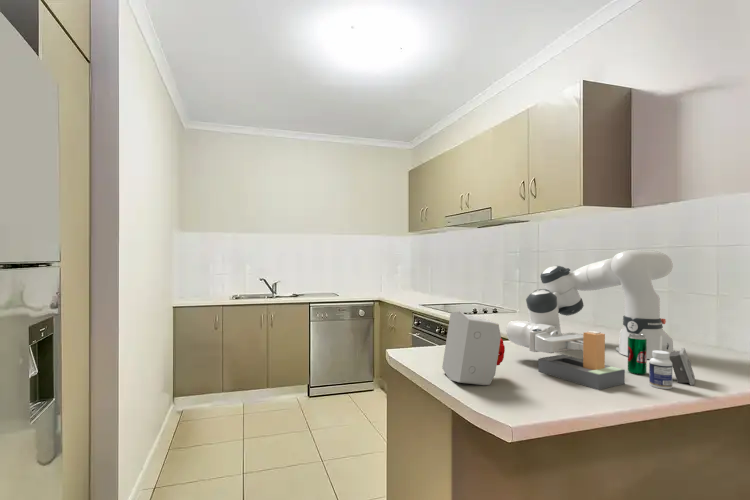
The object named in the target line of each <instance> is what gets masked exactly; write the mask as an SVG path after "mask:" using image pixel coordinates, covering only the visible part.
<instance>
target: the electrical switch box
mask: <svg viewBox="0 0 750 500" xmlns="http://www.w3.org/2000/svg"><path fill="white" fill-rule="evenodd" d="M505 348H506V347H505V343H504V340H503V339H502V336H501V329H500V324H499V323H497V322H494V321H493V320H492V321H491V320H489V319H486V318H484V317H480V316H477V315H472V314H466V313H464V312H463V311H460V310H459V311H452V312H450V314H449V321H448V327H447V334H446V340H445V348H444V353H443V361H442V366H441V367H442V371H443V372H444V373H445V375H446V376H447V378H448V379H449V380H450V381H453V382H457V383H462V384H470V385H478V386H490V385H491V383H492V382H493V380H494V377H495V376H496V371H497V366H501V365H500V364H501V363H503V361H504V357H505V352H506V351H505V350H506V349H505Z"/></svg>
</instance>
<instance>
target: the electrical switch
mask: <svg viewBox="0 0 750 500" xmlns="http://www.w3.org/2000/svg"><path fill="white" fill-rule="evenodd" d="M675 351H676V352H671V353H670V355H669V356H670V357H669V358H670V361H671V362H672V371H673V372H674V373H673V374H674V375H675V378H676V381H677V383H678V384H681V383H682V384H683V383H684V384H687V383H688V384H689V385H690V386H694V385H695V379H696V378H695V373H694V370H693V367H692V360H691V359H689V355H688V353H687V351H686V349H685V347H681V348H680V350H675Z"/></svg>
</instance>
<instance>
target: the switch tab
mask: <svg viewBox="0 0 750 500" xmlns="http://www.w3.org/2000/svg"><path fill="white" fill-rule="evenodd" d="M582 334H583V350H582V355H583V356H582V357H583V367H584V368H587V369H591V370H596V369H602V368H605V365H606V355H605V354H606V353H605V352H606V334H605V333H601V332H599V331H596V330H595V331H594V330H588V331H587V332H583V333H582Z"/></svg>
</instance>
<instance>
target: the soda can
mask: <svg viewBox="0 0 750 500" xmlns="http://www.w3.org/2000/svg"><path fill="white" fill-rule="evenodd" d="M647 361H648V359H647V339H646V337H645V335H642V334H629V336H628V356H627V372H628V373H630V374H633V375H638V376H640V375H641V376H643V375H646V374H647V372H648V371H647V369H648V368H647V366H648V365H647V364H648V363H647Z"/></svg>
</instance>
